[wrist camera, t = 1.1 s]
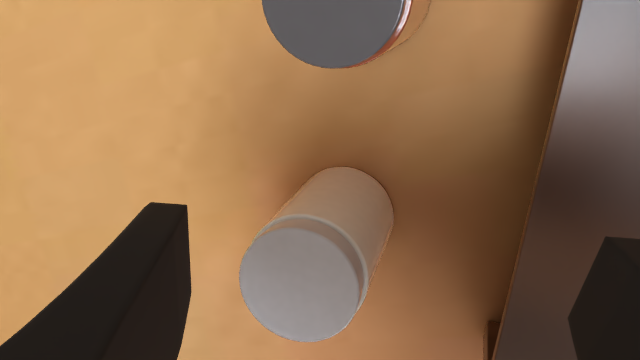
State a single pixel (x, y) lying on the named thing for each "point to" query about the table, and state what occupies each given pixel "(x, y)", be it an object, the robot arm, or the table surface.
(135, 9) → the table surface
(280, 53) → the table surface
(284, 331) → the salt shaker
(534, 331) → the shelf
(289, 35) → the pepper shaker
